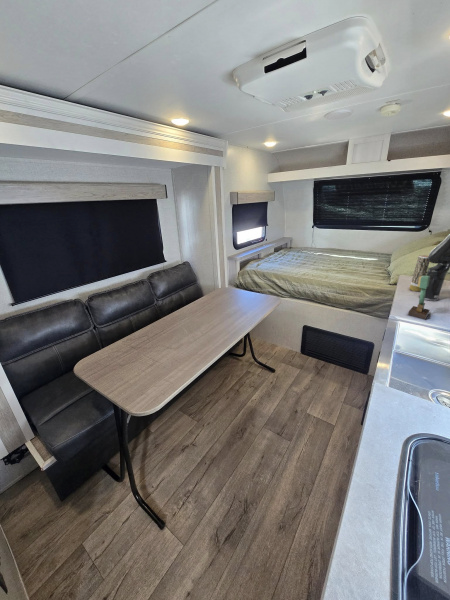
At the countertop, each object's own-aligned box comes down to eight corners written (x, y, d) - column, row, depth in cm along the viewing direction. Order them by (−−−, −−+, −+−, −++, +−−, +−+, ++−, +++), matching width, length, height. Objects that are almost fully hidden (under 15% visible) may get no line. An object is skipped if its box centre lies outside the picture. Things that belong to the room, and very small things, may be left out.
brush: (416, 305, 142) (420, 275, 136) (424, 307, 139) (429, 275, 133) (414, 308, 139) (418, 277, 133) (422, 309, 136) (427, 278, 130)
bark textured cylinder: (416, 288, 178) (426, 255, 168) (423, 291, 172) (433, 257, 162) (407, 288, 179) (416, 255, 169) (412, 291, 173) (422, 257, 163)
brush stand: (411, 310, 146) (415, 299, 143) (428, 314, 140) (432, 303, 138) (407, 315, 140) (411, 304, 138) (425, 319, 135) (428, 308, 132)
